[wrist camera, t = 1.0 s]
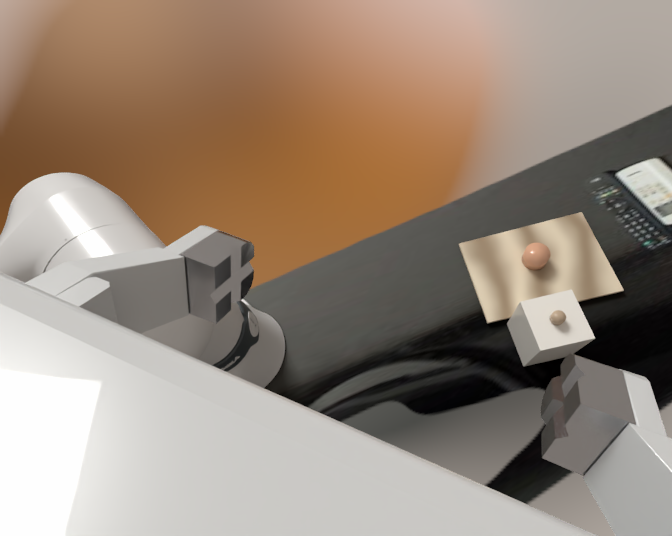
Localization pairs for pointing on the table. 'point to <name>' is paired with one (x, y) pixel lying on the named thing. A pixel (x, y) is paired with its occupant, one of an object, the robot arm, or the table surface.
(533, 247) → the egg
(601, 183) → the table surface
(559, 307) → the tall white canister
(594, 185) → the table surface
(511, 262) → the mat
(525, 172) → the table surface
